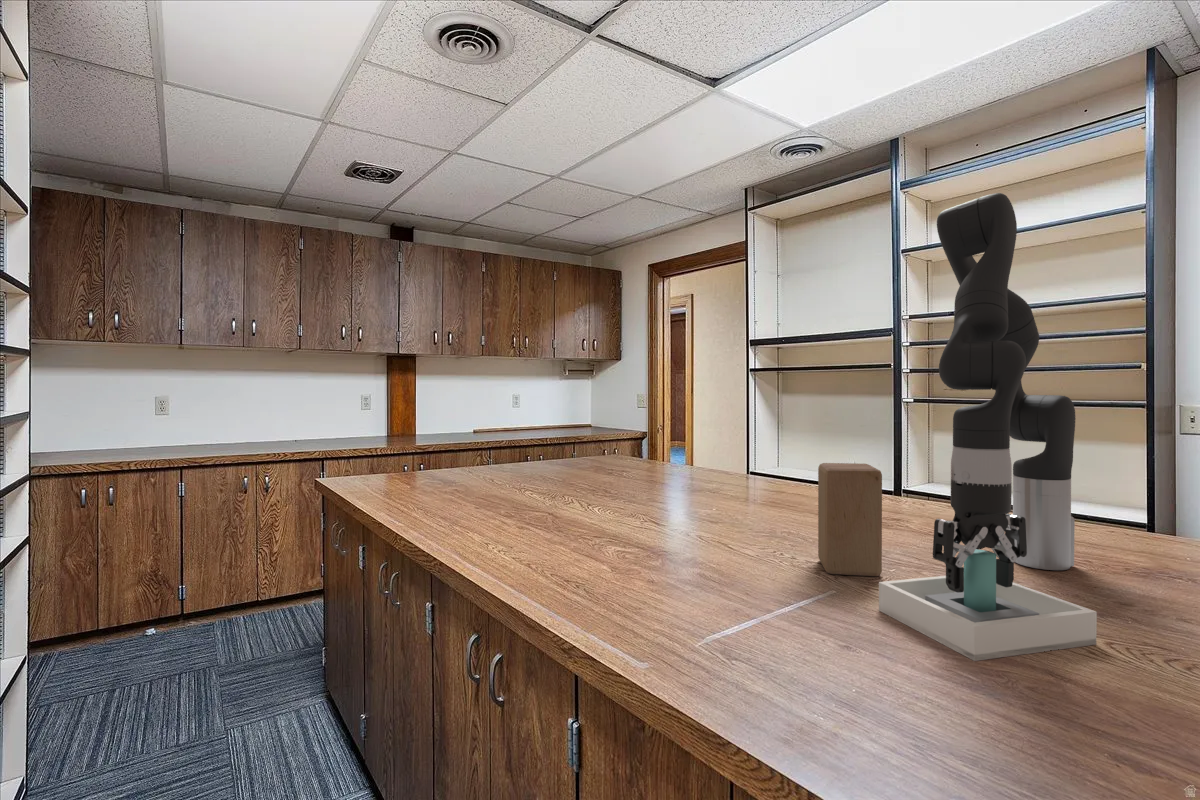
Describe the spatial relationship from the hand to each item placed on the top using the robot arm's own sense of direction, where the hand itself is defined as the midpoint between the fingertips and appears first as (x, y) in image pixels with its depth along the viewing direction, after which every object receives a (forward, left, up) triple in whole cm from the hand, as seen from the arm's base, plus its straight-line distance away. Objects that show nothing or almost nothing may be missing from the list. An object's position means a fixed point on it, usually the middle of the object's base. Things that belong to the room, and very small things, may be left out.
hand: (979, 588), depth 88 cm
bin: (0, 0, -6) cm, 6 cm away
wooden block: (+1, -29, -6) cm, 30 cm away
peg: (0, 0, -5) cm, 5 cm away
